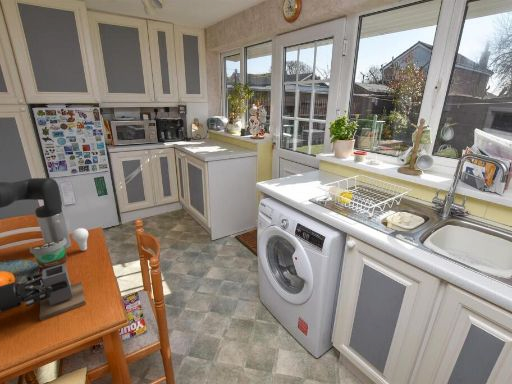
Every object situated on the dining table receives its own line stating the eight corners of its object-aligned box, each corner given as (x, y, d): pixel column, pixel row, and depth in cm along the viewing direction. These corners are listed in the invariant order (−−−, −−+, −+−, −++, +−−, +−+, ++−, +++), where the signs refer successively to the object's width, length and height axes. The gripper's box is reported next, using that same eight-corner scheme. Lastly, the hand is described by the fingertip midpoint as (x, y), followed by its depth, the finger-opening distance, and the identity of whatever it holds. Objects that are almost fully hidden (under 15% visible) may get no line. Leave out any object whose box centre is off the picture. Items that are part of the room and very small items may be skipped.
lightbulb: (84, 254, 117) (79, 232, 113) (72, 253, 118) (66, 231, 114) (95, 247, 122) (90, 226, 118) (83, 246, 123) (78, 225, 120)
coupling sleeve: (50, 294, 90) (42, 269, 86) (71, 287, 93) (64, 263, 90) (50, 305, 85) (42, 279, 82) (72, 297, 89) (65, 272, 85)
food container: (36, 275, 103) (28, 253, 100) (35, 268, 108) (28, 246, 104) (73, 263, 111) (67, 242, 108) (71, 256, 115) (65, 236, 112)
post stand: (41, 298, 91) (34, 278, 88) (82, 285, 98) (77, 265, 95) (40, 321, 82) (33, 299, 79) (85, 304, 89) (80, 283, 86)
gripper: (-10, 303, 72) (64, 280, 82) (-3, 276, 83) (62, 258, 93) (-1, 325, 75) (70, 299, 84) (5, 296, 86) (67, 276, 95)
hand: (66, 278), depth 89 cm, fingers closed on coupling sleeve, 6 cm apart
